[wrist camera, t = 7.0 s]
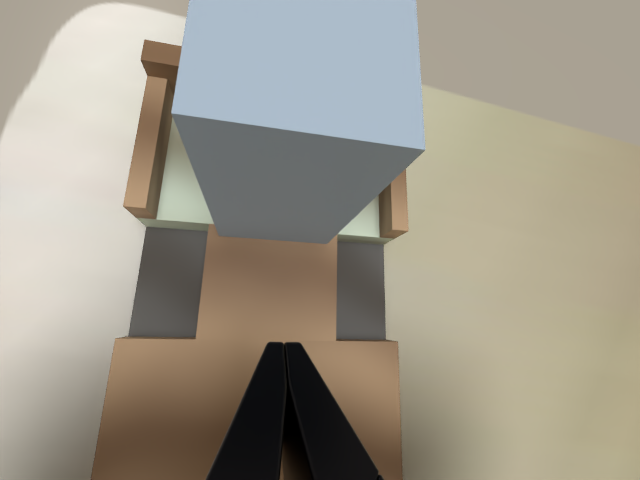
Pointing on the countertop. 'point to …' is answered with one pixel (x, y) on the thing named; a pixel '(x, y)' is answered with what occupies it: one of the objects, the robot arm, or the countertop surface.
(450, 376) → the countertop surface
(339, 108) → the blue-grey block
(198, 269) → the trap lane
